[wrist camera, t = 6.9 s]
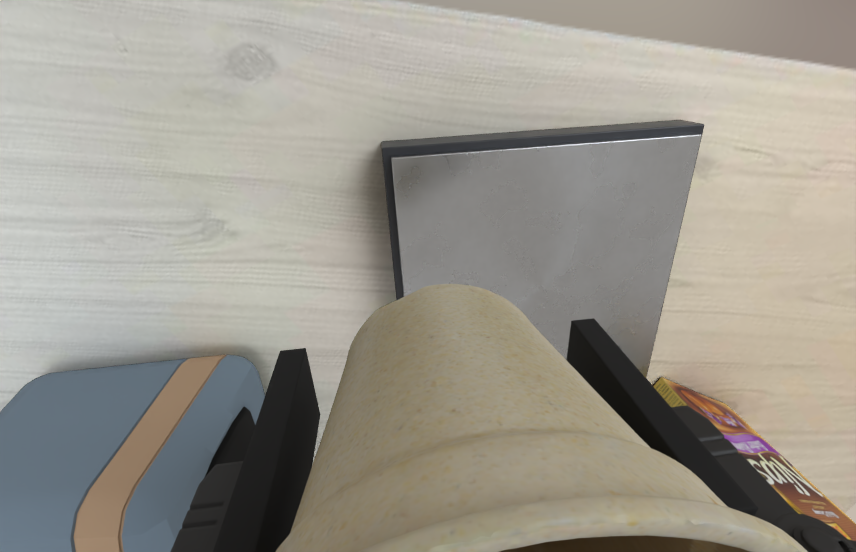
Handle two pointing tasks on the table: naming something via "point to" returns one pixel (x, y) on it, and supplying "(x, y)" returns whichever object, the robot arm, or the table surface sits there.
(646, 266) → the scale
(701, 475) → the robot arm
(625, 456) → the flower pot
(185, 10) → the table surface
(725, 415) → the candy box
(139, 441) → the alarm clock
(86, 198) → the table surface
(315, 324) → the table surface
